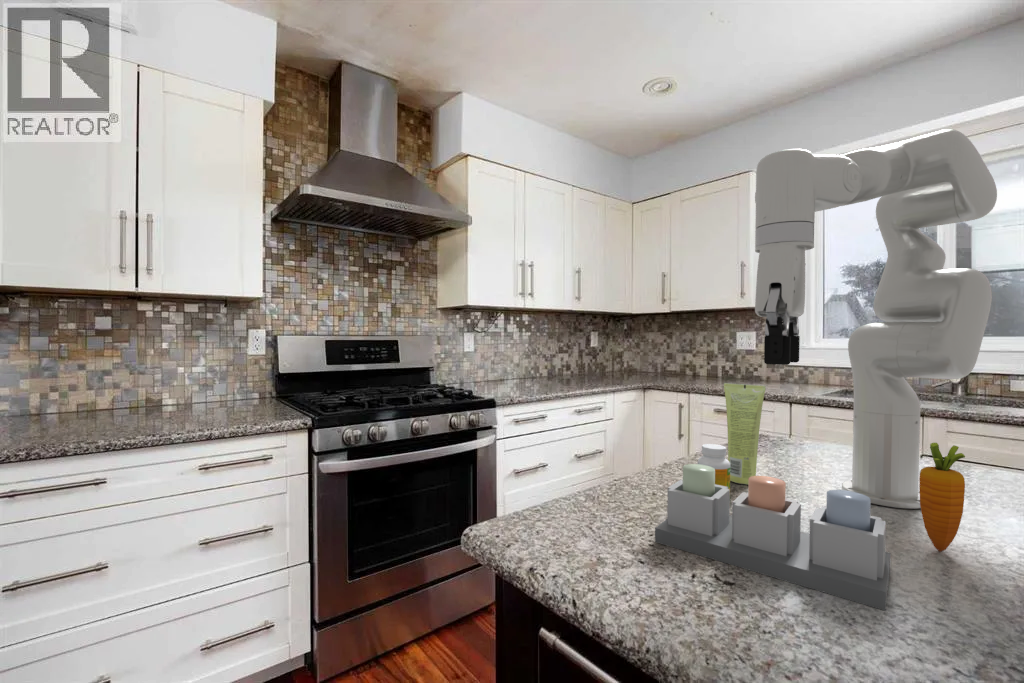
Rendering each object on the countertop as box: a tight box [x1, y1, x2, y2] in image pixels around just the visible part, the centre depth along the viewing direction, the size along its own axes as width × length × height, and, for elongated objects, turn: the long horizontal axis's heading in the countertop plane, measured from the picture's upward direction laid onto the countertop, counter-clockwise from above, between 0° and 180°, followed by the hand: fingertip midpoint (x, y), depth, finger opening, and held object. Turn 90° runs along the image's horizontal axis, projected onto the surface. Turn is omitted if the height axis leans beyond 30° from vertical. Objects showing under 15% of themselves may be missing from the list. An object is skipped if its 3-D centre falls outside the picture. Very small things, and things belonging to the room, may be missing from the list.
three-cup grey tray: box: [654, 479, 892, 611], centre depth 65 cm, size 12×26×7 cm, turn 50°
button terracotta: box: [747, 475, 787, 513], centre depth 65 cm, size 4×4×5 cm
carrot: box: [919, 442, 966, 553], centre depth 66 cm, size 5×5×15 cm
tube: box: [723, 382, 767, 485], centre depth 96 cm, size 6×5×20 cm
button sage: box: [682, 463, 715, 497], centre depth 71 cm, size 4×4×5 cm
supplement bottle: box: [696, 443, 731, 490], centre depth 85 cm, size 5×5×10 cm
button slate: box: [826, 489, 872, 532], centre depth 59 cm, size 4×4×5 cm
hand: (782, 361), depth 71 cm, fingers open, 5 cm apart
